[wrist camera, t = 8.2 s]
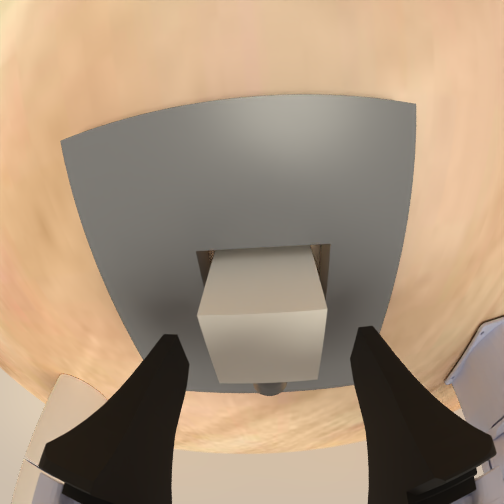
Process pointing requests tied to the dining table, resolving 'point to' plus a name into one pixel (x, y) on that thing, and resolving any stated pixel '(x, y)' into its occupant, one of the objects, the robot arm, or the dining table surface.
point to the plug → (264, 316)
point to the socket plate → (247, 210)
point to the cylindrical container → (55, 428)
